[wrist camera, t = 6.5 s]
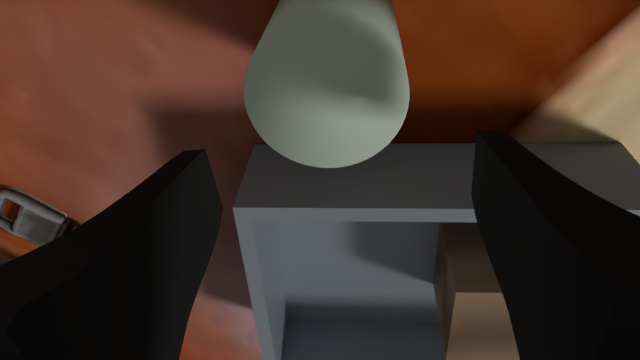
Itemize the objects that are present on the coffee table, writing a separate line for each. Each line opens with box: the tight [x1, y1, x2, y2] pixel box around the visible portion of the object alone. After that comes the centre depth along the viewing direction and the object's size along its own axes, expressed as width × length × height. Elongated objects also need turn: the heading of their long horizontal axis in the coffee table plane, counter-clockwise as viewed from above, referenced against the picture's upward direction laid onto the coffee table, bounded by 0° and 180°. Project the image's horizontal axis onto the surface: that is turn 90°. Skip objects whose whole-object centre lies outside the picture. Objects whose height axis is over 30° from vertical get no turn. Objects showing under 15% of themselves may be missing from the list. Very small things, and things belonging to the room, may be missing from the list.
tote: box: [233, 142, 640, 360], centre depth 25 cm, size 17×13×5 cm
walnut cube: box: [433, 222, 520, 360], centre depth 24 cm, size 5×5×5 cm
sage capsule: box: [244, 0, 410, 168], centre depth 17 cm, size 5×5×7 cm
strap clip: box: [0, 187, 78, 246], centre depth 27 cm, size 8×3×4 cm, turn 55°
